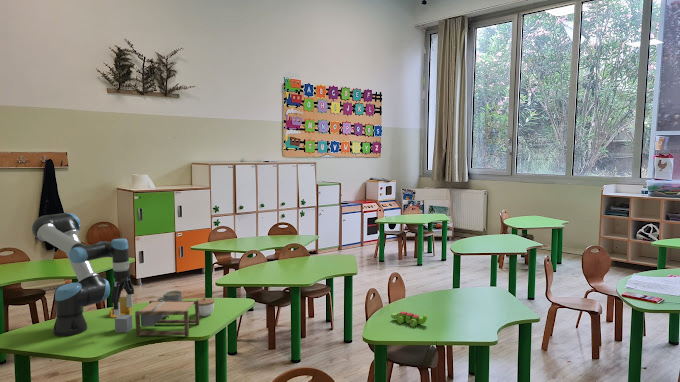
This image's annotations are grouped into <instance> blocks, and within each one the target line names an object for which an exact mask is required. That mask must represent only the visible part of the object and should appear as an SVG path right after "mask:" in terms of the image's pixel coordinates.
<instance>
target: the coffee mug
mask: <svg viewBox="0 0 680 382" xmlns="http://www.w3.org/2000/svg"><path fill="white" fill-rule="evenodd" d="M156 301H183V292H182V290H181V291H180V290H169V291H165V292H164V293H163V296H160V297H159V298H157V300H156Z"/></svg>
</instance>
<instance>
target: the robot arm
mask: <svg viewBox="0 0 680 382" xmlns="http://www.w3.org/2000/svg"><path fill="white" fill-rule="evenodd" d="M31 225H32V226H31V233H32V234H33V236H34V237H35V238H36V239H37V240H39V241H41V242H47V243H48V244H51V245H52V246H53V247H56V248H58V250H61V251H63V252H64V253H65V254H66V256H67V257H66V258H68V261H69V263H70V265H71V267H72V270H73V271H74V274H75V275H76V278H77V280H78V281H77V282H71V283H66V284H62V285H60V286H58V287H57V288H56V289H55V291H54V300H55V317H56V318H55V321H54V325H53V329H52V334H53V335H54V336H56V337H68V336H74V335H78V334H81V333H84V332H85V331H86V330H87V329H88V323H87V321H86V319H85V316H84V313H83V308H85V307H88V306H90V305H94V304H99V303H102V302H104V301H105V300H107V299H108V298H109V296H110V294H111V298H110V303H111V304H114V316H120V302H119V298H120V297H121V294H122V291H123V290H124V291H125V292H126V295H125V297H126V300H127V307H132V308H133V307H134V306H133V304H134V303H133V295H134V294H135V289H134V286H133V282H132V278H131V276H130V275H131V272H130V271H131V270H130V269H129V268H130V265H131V263H130V256H129V255H130V253H129V252H130V251H129V242H128V240H127V238H114V239H112V240H111V241H107V240H105V241H98V242H97V243H93V244H88V245H87V244H84V243H82V242H81V240H80V238H79V234H80V231H81V227H82V226H81V220H80V218H79V217H78V216H77V215H76V214H75V213H72V212H63V213H56V214H55V213H54V214H47V215H42V216H41V215H40V216H38V218H36V219H35V220H34V221H33V223H32V224H31ZM103 258H111V259H112V271H113V272H112V274H113V276H112V277H113V279H115V280H116V281H115V282H113V283H112V291H111V286H110V282H109V281H108V280H107V279H106V278H101V275H100V274H98V273H97V272H95V270H94V267H93V265H92V263H91V261H93V260H99V259H103ZM110 292H111V293H110Z"/></svg>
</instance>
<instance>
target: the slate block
mask: <svg viewBox="0 0 680 382" xmlns="http://www.w3.org/2000/svg"><path fill="white" fill-rule="evenodd" d="M114 328H115V329H114V330H115V333H129V332H130V331H131V330H133V315H132V314H131V315H120V316H118V317H117V318H114Z"/></svg>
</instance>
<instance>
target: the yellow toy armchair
mask: <svg viewBox="0 0 680 382" xmlns="http://www.w3.org/2000/svg"><path fill="white" fill-rule="evenodd" d="M119 302H120V315H132V313H133V307H127V300H126V296H120V298H119ZM112 304H113V303H112ZM108 314H109V316H108V318H109V319H115V318H117V317H118V316H114V304H113V305H112V308H111V309H110V310H109V313H108Z"/></svg>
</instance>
